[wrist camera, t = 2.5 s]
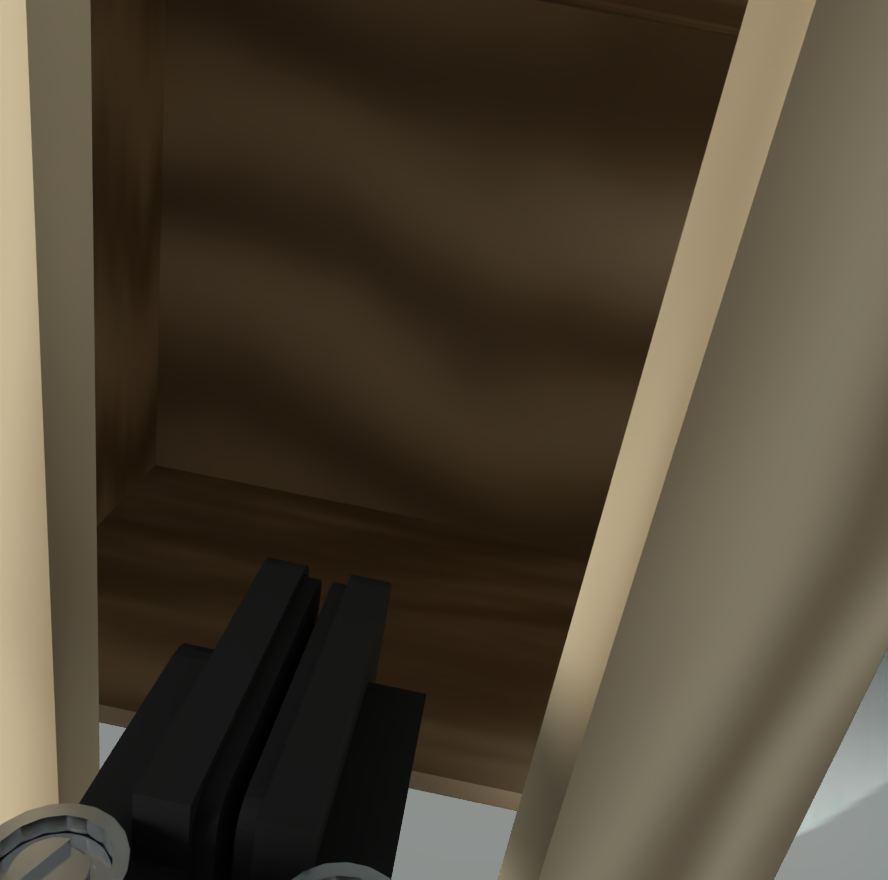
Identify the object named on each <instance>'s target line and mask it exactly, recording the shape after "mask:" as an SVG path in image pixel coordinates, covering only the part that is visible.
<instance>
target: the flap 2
mask: <svg viewBox="0 0 888 880" xmlns="http://www.w3.org/2000/svg"><path fill="white" fill-rule="evenodd" d="M887 648H888V0H749V1H748V4H747V8H746V11H745V15H744V18H743V22H742V25H741V29H740V32H739V36H738V39H737V43H736V46H735V50H734V53H733V57H732V60H731V64H730V67H729V71H728V74H727V78H726V81H725V85H724V88H723V92H722V95H721V99H720V102H719V106H718V109H717V113H716V116H715V120H714V123H713V127H712V130H711V134H710V137H709V141H708V144H707V148H706V151H705V155H704V158H703V162H702V165H701V169H700V172H699V176H698V179H697V183H696V186H695V190H694V193H693V197H692V200H691V204H690V207H689V211H688V214H687V218H686V221H685V225H684V228H683V232H682V235H681V239H680V243H679V246H678V250H677V253H676V257H675V260H674V264H673V267H672V271H671V274H670V278H669V281H668V285H667V288H666V292H665V295H664V299H663V302H662V306H661V309H660V313H659V316H658V320H657V323H656V327H655V330H654V334H653V337H652V341H651V344H650V348H649V351H648V355H647V358H646V362H645V365H644V369H643V372H642V376H641V379H640V383H639V386H638V390H637V393H636V397H635V400H634V404H633V407H632V411H631V414H630V418H629V421H628V425H627V428H626V432H625V435H624V439H623V442H622V446H621V449H620V453H619V456H618V460H617V463H616V467H615V470H614V474H613V477H612V481H611V484H610V488H609V491H608V495H607V498H606V502H605V505H604V509H603V512H602V516H601V519H600V523H599V526H598V530H597V533H596V537H595V540H594V544H593V547H592V551H591V555H590V558H589V562H588V565H587V569H586V572H585V576H584V579H583V583H582V586H581V590H580V593H579V597H578V600H577V604H576V607H575V611H574V614H573V618H572V621H571V625H570V628H569V632H568V635H567V639H566V642H565V646H564V649H563V653H562V656H561V660H560V663H559V667H558V670H557V674H556V677H555V681H554V684H553V688H552V691H551V695H550V698H549V702H548V705H547V709H546V712H545V716H544V719H543V723H542V726H541V730H540V733H539V737H538V740H537V744H536V747H535V751H534V754H533V758H532V761H531V765H530V768H529V772H528V775H527V779H526V782H525V786H524V789H523V793H522V796H521V800H520V803H519V807H518V810H517V814H516V818H515V821H514V825H513V828H512V831H511V835H510V839H509V842H508V845H507V849H506V852H505V856H504V860H503V863H502V867H501V870H500V874H499V877H498V880H774V878H775V876H776V874H777V872H778V870H779V868H780V866H781V864H782V862H783V860H784V858H785V856H786V854H787V852H788V850H789V848H790V846H791V843H792V841H793V839H794V837H795V835H796V833H797V831H798V829H799V827H800V825H801V823H802V821H803V819H804V817H805V815H806V813H807V811H808V809H809V807H810V805H811V803H812V801H813V799H814V797H815V795H816V793H817V791H818V789H819V787H820V785H821V783H822V781H823V778H824V776H825V774H826V772H827V770H828V768H829V766H830V764H831V762H832V760H833V758H834V756H835V754H836V752H837V750H838V748H839V746H840V744H841V742H842V740H843V738H844V736H845V734H846V732H847V730H848V728H849V726H850V724H851V722H852V720H853V718H854V715H855V713H856V711H857V709H858V707H859V705H860V703H861V701H862V699H863V697H864V695H865V693H866V691H867V689H868V687H869V685H870V683H871V681H872V679H873V677H874V675H875V673H876V671H877V669H878V667H879V665H880V663H881V661H882V659H883V657H884V654H885V652H886V650H887Z"/></svg>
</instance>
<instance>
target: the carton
mask: <svg viewBox="0 0 888 880" xmlns="http://www.w3.org/2000/svg"><path fill="white" fill-rule="evenodd" d="M748 1H749V0H90V10H91V94H92V179H93V263H94V347H95V432H96V516H97V600H98V684H99V722H101V723H106V724H110V725H115V726H120V727H124V728H127V727H128V725H129V723H130V722H131V720H132V719H133V717H134V715H135V714H136V712H137V711H138V709H139V708H140V706H141V704H142V703H143V701H144V700H145V698H146V696H147V695H148V693H149V692H150V690H151V689H152V687H153V685H154V684H155V682H156V681H157V679H158V677H159V676H160V674H161V673H162V671H163V670H164V668H165V666H166V665H167V663H168V662H169V660H170V659H171V657H172V655H173V654H174V653H175V651H176V650H177V649H178V647H179V646H181V645H182V644H184V643H186V644H191V645H196V646H201V647H205V648H210V649H215V647H216V645H217V644H218V642H219V640H220V638H221V637H222V635H223V633H224V631H225V630H226V628H227V626H228V624H229V623H230V621H231V619H232V617H233V616H234V614H235V612H236V610H237V608H238V607H239V605H240V603H241V601H242V600H243V598H244V596H245V594H246V593H247V591H248V589H249V587H250V586H251V584H252V582H253V580H254V579H255V577H256V575H257V573H258V571H259V570H260V568H261V566H262V564H263V563H264V561H265V560H266V559H267V558H274V559H278V560H283V561H288V562H293V563H298V564H303V565H308V567H309V577H311V578H316V579H321V581H322V588H321V596H320V604H319V612H318V617H319V614H320V612H321V609H322V607H323V604H324V602H325V600H326V597H327V595H328V592H329V590H330V588H331V585H332V583H333V582H336V583H340V584H345V585H347V583H348V580H349V578H350V576H351V575H356V576H361V577H366V578H371V579H375V580H380V581H385V582H390V583H391V592H390V598H389V604H388V610H387V616H386V622H385V627H384V633H383V639H382V645H381V651H380V657H379V663H378V669H377V675H376V681H375V683H377V684H382V685H386V686H391V687H396V688H401V689H405V690H410V691H415V692H420V693H424V694H426V699H425V705H424V710H423V715H422V720H421V726H420V731H419V736H418V741H417V746H416V752H415V757H414V762H413V767H412V773H411V778H410V783H409V788H412V789H416V790H421V791H426V792H430V793H435V794H440V795H444V796H449V797H454V798H459V799H463V800H468V801H472V802H477V803H482V804H487V805H492V806H496V807H501V808H506V809H510V810H515V811H517V810H518V807H519V803H520V800H521V796H522V793H523V789H524V786H525V782H526V779H527V775H528V772H529V768H530V765H531V761H532V758H533V754H534V751H535V747H536V744H537V740H538V737H539V733H540V730H541V726H542V723H543V719H544V716H545V712H546V709H547V705H548V702H549V698H550V695H551V691H552V688H553V684H554V681H555V677H556V674H557V670H558V667H559V663H560V660H561V656H562V653H563V649H564V646H565V642H566V639H567V635H568V632H569V628H570V625H571V621H572V618H573V614H574V611H575V607H576V604H577V600H578V597H579V593H580V590H581V586H582V583H583V579H584V576H585V572H586V569H587V565H588V562H589V558H590V555H591V551H592V547H593V544H594V540H595V537H596V533H597V530H598V526H599V523H600V519H601V516H602V512H603V509H604V505H605V502H606V498H607V495H608V491H609V488H610V484H611V481H612V477H613V474H614V470H615V467H616V463H617V460H618V456H619V453H620V449H621V446H622V442H623V439H624V435H625V432H626V428H627V425H628V421H629V418H630V414H631V411H632V407H633V404H634V400H635V397H636V393H637V390H638V386H639V383H640V379H641V376H642V372H643V369H644V365H645V362H646V358H647V355H648V351H649V348H650V344H651V341H652V337H653V334H654V330H655V327H656V323H657V320H658V316H659V313H660V309H661V306H662V302H663V299H664V295H665V292H666V288H667V285H668V281H669V278H670V274H671V271H672V267H673V264H674V260H675V257H676V253H677V250H678V246H679V243H680V239H681V235H682V232H683V228H684V225H685V221H686V218H687V214H688V211H689V207H690V204H691V200H692V197H693V193H694V190H695V186H696V183H697V179H698V176H699V172H700V169H701V165H702V162H703V158H704V155H705V151H706V148H707V144H708V141H709V137H710V134H711V130H712V127H713V123H714V120H715V116H716V113H717V109H718V106H719V102H720V99H721V95H722V92H723V88H724V85H725V81H726V78H727V74H728V71H729V67H730V64H731V60H732V57H733V53H734V50H735V46H736V43H737V39H738V36H739V32H740V29H741V25H742V22H743V18H744V15H745V11H746V8H747V4H748Z"/></svg>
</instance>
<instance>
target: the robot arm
mask: <svg viewBox="0 0 888 880" xmlns="http://www.w3.org/2000/svg"><path fill="white" fill-rule="evenodd" d="M321 588H322V581H321V579H316V578H311V577H309V567H308V565H303V564H298V563H293V562H288V561H283V560H278V559H274V558H267V559H266V560H265V561H264V563H263V564H262V566H261V568H260V570H259V571H258V573H257V575H256V577H255V579H254V580H253V582H252V584H251V586H250V587H249V589H248V591H247V593H246V594H245V596H244V598H243V600H242V601H241V603H240V605H239V607H238V608H237V610H236V612H235V614H234V616H233V617H232V619H231V621H230V623H229V624H228V626H227V628H226V630H225V631H224V633H223V635H222V637H221V638H220V640H219V642H218V644H217V645H216V647H215V649H210V648H205V647H201V646H196V645H191V644H186V643H184V644H182V645H181V646H179V647H178V649H177V650H176V651H175V653H174V654H173V655H172V657H171V659H170V660H169V662H168V663H167V665H166V666H165V668H164V670H163V671H162V673H161V674H160V676H159V677H158V679H157V681H156V682H155V684H154V685H153V687H152V689H151V690H150V692H149V693H148V695H147V696H146V698H145V700H144V701H143V703H142V704H141V706H140V708H139V709H138V711H137V712H136V714H135V715H134V717H133V719H132V720H131V722H130V723H129V725H128V727H127V728H126V730H125V731H124V733H123V734H122V736H121V738H120V739H119V741H118V742H117V744H116V746H115V747H114V749H113V750H112V752H111V754H110V755H109V757H108V758H107V760H106V761H105V763H104V765H103V766H102V768H101V769H100V771H99V772H98V774H97V776H96V777H95V779H94V780H93V782H92V783H91V785H90V787H89V788H88V790H87V791H86V793H85V794H84V796H83V798H82V799H81V801H80V802H79V804H77V803H64V804H50V805H46V806H42V807H39V808H35V809H32V810H28V811H25V812H23V813H22V814H20V815H18V816H16V817H14V818H12V819H10V820H8V821H6V822H4V823H3V824H1V825H0V880H391V877H392V872H393V866H394V861H395V856H396V851H397V845H398V840H399V835H400V830H401V824H402V819H403V814H404V809H405V803H406V798H407V793H408V788H409V783H410V778H411V773H412V767H413V762H414V757H415V752H416V746H417V741H418V736H419V731H420V726H421V720H422V715H423V710H424V705H425V699H426V694H424V693H420V692H415V691H410V690H405V689H401V688H396V687H391V686H386V685H382V684H377V683H375V681H376V675H377V669H378V663H379V657H380V651H381V645H382V639H383V633H384V627H385V622H386V616H387V610H388V604H389V598H390V592H391V583H390V582H385V581H380V580H375V579H371V578H366V577H361V576H356V575H351V576H350V578H349V580H348V583H347V585H345V584H340V583H336V582H333V583H332V585H331V588H330V590H329V592H328V595H327V597H326V600H325V602H324V604H323V607H322V609H321V612H320V614H319V617H318V612H319V604H320V596H321Z"/></svg>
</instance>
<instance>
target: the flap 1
mask: <svg viewBox="0 0 888 880" xmlns="http://www.w3.org/2000/svg"><path fill="white" fill-rule="evenodd" d="M99 771H100V769H99V684H98V600H97V516H96V432H95V347H94V263H93V179H92V94H91V10H90V0H0V825H1V824H3V823H4V822H6V821H8V820H10V819H12V818H14V817H16V816H18V815H20V814H22V813H23V812H25V811H28V810H32V809H35V808H39V807H42V806H46V805H50V804H64V803H77V804H79V802H80V801H81V799H82V798H83V796H84V794H85V793H86V791H87V790H88V788H89V787H90V785H91V783H92V782H93V780H94V779H95V777H96V776H97V774H98V772H99Z"/></svg>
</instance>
